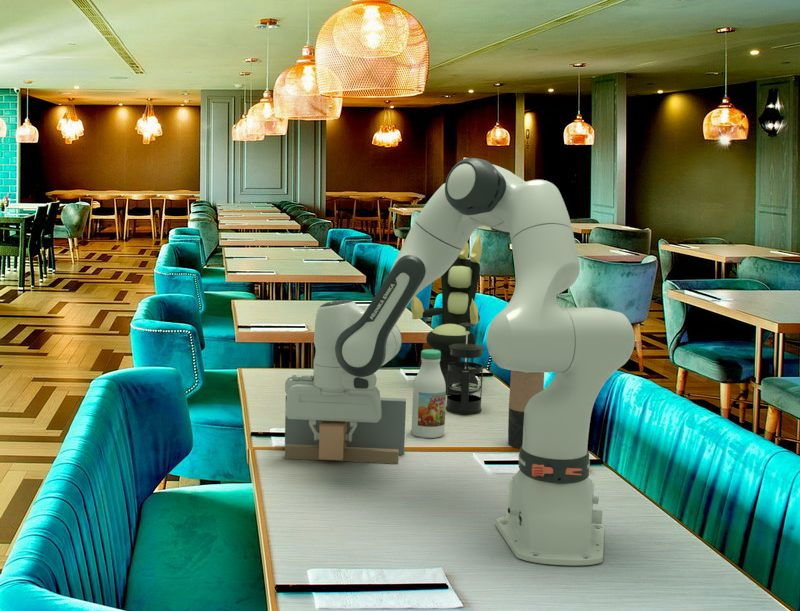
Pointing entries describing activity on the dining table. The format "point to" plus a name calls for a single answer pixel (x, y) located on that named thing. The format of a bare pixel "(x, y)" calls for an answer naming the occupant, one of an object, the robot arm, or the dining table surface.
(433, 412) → the milk bottle
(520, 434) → the travel mug
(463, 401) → the french press
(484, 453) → the dining table surface
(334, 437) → the block
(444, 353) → the miniature padded chair
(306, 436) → the cleat board
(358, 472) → the dining table surface
